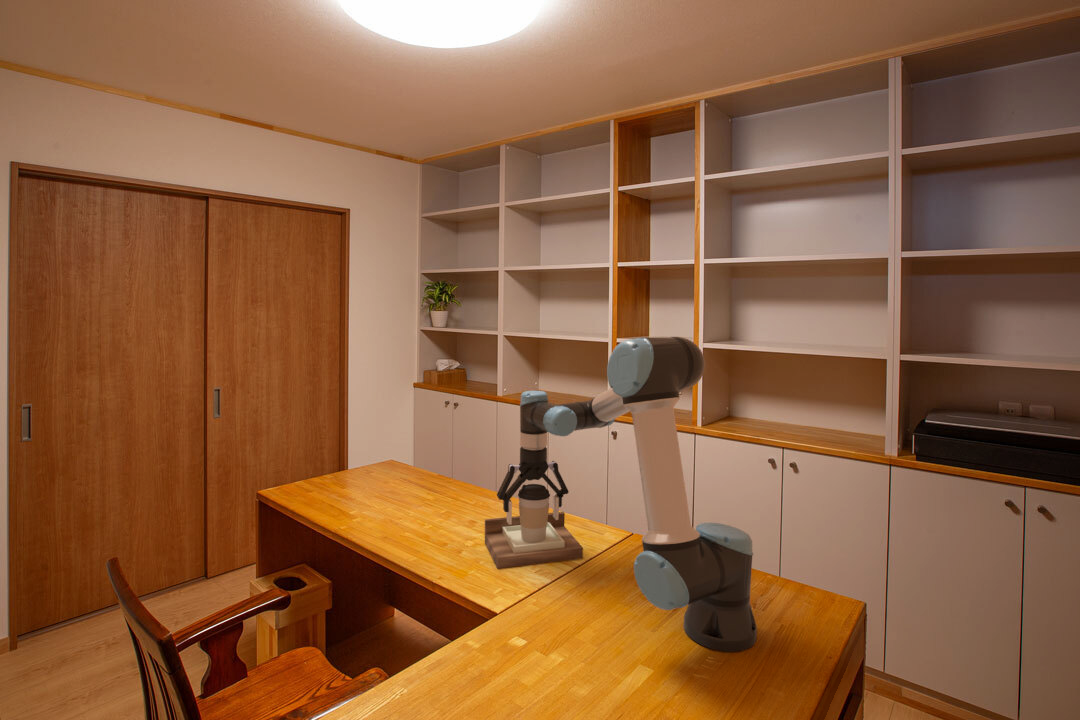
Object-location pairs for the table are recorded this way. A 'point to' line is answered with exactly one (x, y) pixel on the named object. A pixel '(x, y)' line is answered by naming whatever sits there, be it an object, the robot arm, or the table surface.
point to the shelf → (508, 558)
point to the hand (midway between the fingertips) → (532, 520)
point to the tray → (519, 545)
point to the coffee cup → (533, 512)
